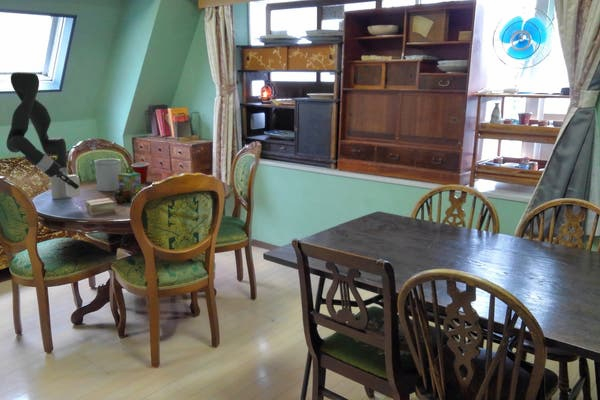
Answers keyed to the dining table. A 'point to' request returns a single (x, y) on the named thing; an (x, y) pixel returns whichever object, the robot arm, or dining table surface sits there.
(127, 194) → the decorative turtle
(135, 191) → the chalk box
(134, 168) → the plastic cup
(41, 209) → the dining table surface
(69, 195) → the tin
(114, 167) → the utensil holder
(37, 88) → the robot arm
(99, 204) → the block
